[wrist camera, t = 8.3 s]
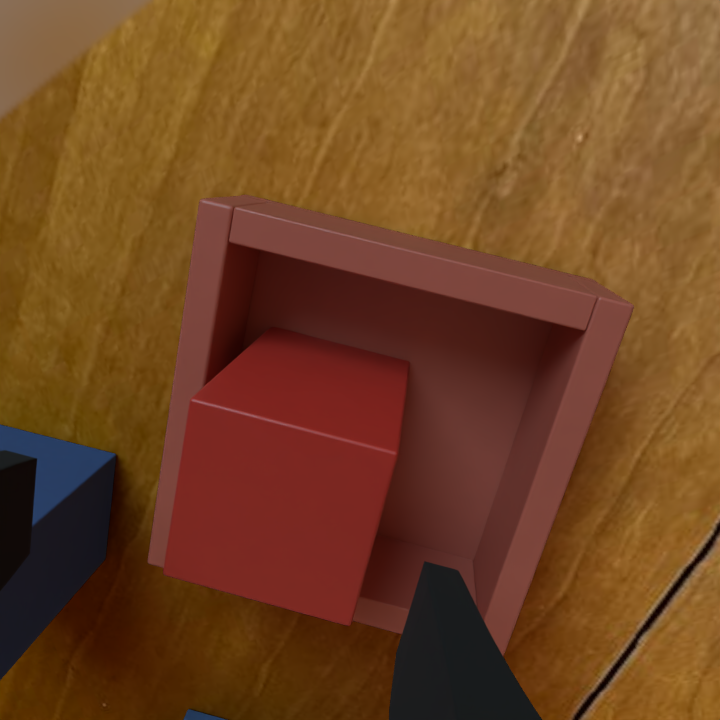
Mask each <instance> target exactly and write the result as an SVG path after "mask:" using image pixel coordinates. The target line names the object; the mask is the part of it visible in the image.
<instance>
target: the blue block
mask: <svg viewBox="0 0 720 720" xmlns="http://www.w3.org/2000/svg"><path fill="white" fill-rule="evenodd" d="M3 450H7V451H11V452H14V453H18V454H22V455H26V456H30V457H33V458H37V467H36V480H35V493H34V507H33V520H32V533H31V547H30V554H29V555H28V557H27V558H26V559H25V561H24V562H23V563H22V564H21V566H20V567H19V568H18V570H17V571H16V572H15V574H14V575H13V576H12V577H11V579H10V580H9V581H8V582H7V584H6V585H5V586H4V587H3V588H2V590H1V591H0V680H1V679H2V677H3V676H4V675H5V674H6V673H7V672H8V671H9V669H10V668H11V667H12V666H13V665H14V664H15V662H16V661H17V660H18V659H19V658H20V657H21V656H22V654H23V653H24V652H25V651H26V650H27V649H28V648H29V646H30V645H31V644H32V643H33V642H34V641H35V639H36V638H37V637H38V636H39V635H40V634H41V633H42V631H43V630H44V629H45V628H46V627H47V626H48V624H49V623H50V622H51V621H52V620H53V619H54V618H55V616H56V615H57V614H58V613H59V612H60V611H61V610H62V608H63V607H64V606H65V605H66V604H67V603H68V601H69V600H70V599H71V598H72V597H73V596H74V595H75V593H76V592H77V591H78V590H79V589H80V588H81V587H82V585H83V584H84V583H85V582H86V581H87V580H88V578H89V577H90V576H91V575H92V574H93V573H94V572H95V570H96V569H97V568H98V567H99V566H100V565H101V564H102V562H103V561H104V560H105V558H106V549H107V539H108V530H109V520H110V511H111V501H112V491H113V482H114V472H115V462H116V454H114V453H110V452H106V451H102V450H98V449H95V448H91V447H87V446H83V445H79V444H75V443H71V442H67V441H63V440H59V439H55V438H51V437H47V436H43V435H39V434H35V433H31V432H27V431H24V430H20V429H16V428H12V427H8V426H4V425H0V451H3Z"/></svg>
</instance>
